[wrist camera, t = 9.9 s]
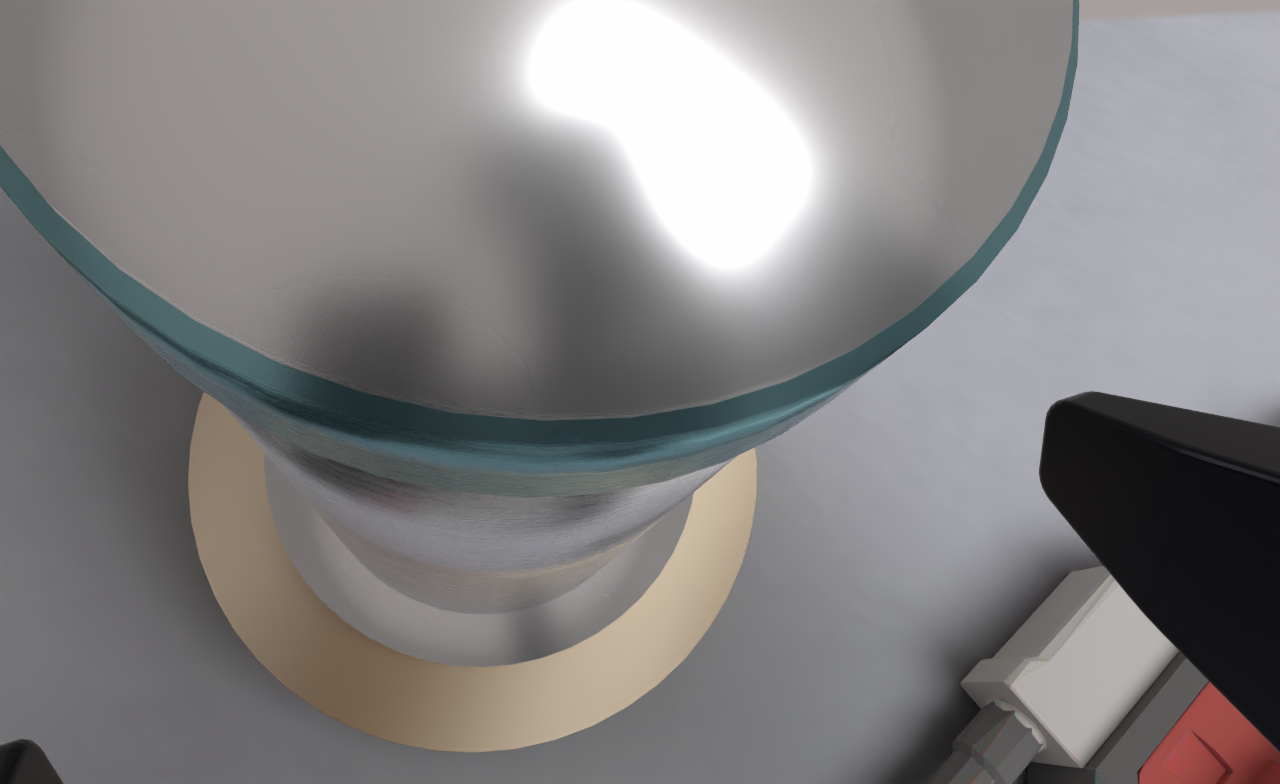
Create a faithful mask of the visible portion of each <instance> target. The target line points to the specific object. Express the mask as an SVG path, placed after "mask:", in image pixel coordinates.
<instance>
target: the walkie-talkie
mask: <svg viewBox="0 0 1280 784" xmlns="http://www.w3.org/2000/svg"><path fill="white" fill-rule="evenodd" d="M961 686H962V688H963V689H964V690H965V691H966V692H967V693H968V694H969V696H970V697H971V698H972V699H973V700H974V701H975V703H976V704H977V705H978V706H979V707H980V708H981V710H980V711H979V713H978V714H977V715H976V716H975V717H974V718H973V719H972V721H971V722H970V723H969V724H968V725H967V726H966V727H965V728H964V730H963V731H962V732H961V733H960V734H959V735H958V736H957V737H956V739H955V740H954V741H953V742H952V748H953V753H952V754H951V755H950V757H949V758H948V759H947V760H946V761H945V762H944V763H943V765H942V766H941V767H940V768H939V769H938V770H937V771H936V772H935V774H934V775H933V776H932V777H931V778H930V779H929V780H928V782H927V783H926V784H1013V782H1014V781H1015V780H1016V779H1017V778H1018V776H1019V775H1020V774H1021V773H1022V772H1023V770H1024V769H1025V768H1026V767H1027V766H1028V772H1027V784H1280V753H1279V752H1278V751H1277V750H1276V749H1275V748H1274V747H1273V746H1272V745H1271V743H1270V742H1269V741H1268V740H1267V739H1266V738H1265V737H1264V736H1263V735H1262V734H1261V733H1260V732H1259V731H1258V730H1257V729H1256V728H1255V727H1254V726H1253V725H1252V724H1251V723H1250V722H1249V721H1248V720H1247V719H1246V718H1245V717H1244V716H1243V715H1242V714H1241V713H1240V712H1239V711H1238V710H1237V709H1236V708H1235V707H1234V706H1233V705H1232V704H1231V703H1230V702H1229V701H1228V700H1227V699H1226V698H1225V697H1224V696H1223V695H1222V694H1221V693H1220V692H1219V691H1218V690H1217V689H1216V688H1215V687H1214V686H1213V685H1212V684H1211V683H1210V682H1209V681H1208V680H1207V679H1206V678H1205V677H1204V676H1203V675H1202V674H1201V673H1200V671H1199V670H1198V669H1197V668H1196V667H1195V666H1194V665H1193V664H1192V663H1191V662H1190V661H1189V660H1188V659H1187V658H1186V657H1185V656H1184V655H1183V654H1182V653H1181V652H1180V651H1179V650H1178V649H1177V648H1176V647H1175V646H1174V645H1173V644H1172V643H1171V642H1170V641H1169V640H1168V639H1167V638H1166V637H1165V636H1164V635H1163V634H1162V633H1161V632H1160V631H1159V630H1158V629H1157V628H1156V627H1155V625H1154V624H1153V623H1152V622H1151V621H1150V620H1149V619H1148V618H1147V617H1146V616H1145V615H1144V614H1143V612H1142V611H1141V610H1140V609H1139V608H1138V607H1137V605H1136V604H1135V603H1134V602H1133V601H1132V600H1131V598H1130V597H1129V596H1128V595H1127V594H1126V592H1125V591H1124V590H1123V589H1122V588H1121V586H1120V585H1119V584H1118V583H1117V581H1116V580H1115V579H1114V578H1113V577H1112V575H1111V574H1110V573H1109V572H1108V570H1107V569H1106V568H1105V567H1104V566H1099V567H1094V568H1088V569H1083V570H1078V571H1073V572H1070V573H1069V574H1068V576H1067V577H1066V578H1065V579H1064V580H1063V581H1062V582H1061V583H1060V584H1059V585H1058V587H1057V588H1056V589H1055V590H1054V591H1053V592H1052V593H1051V594H1050V595H1049V596H1048V598H1047V599H1046V600H1045V601H1044V602H1043V603H1042V604H1041V605H1040V606H1039V607H1038V608H1037V610H1036V611H1035V612H1034V613H1033V614H1032V615H1031V616H1030V617H1029V618H1028V619H1027V621H1026V622H1025V623H1024V624H1023V625H1022V626H1021V627H1020V628H1019V629H1018V630H1017V632H1016V633H1015V634H1014V635H1013V636H1012V637H1011V638H1010V639H1009V640H1008V641H1007V642H1006V644H1005V645H1004V646H1003V647H1002V648H1001V649H1000V650H999V651H998V652H997V653H996V655H995V656H994V657H993V658H991V659H984V660H980V662H979V663H978V664H977V665H976V666H975V667H974V668H973V669H972V670H971V671H970V673H969V674H968V675H967V676H966V677H965V678H964V679H963V680H962V681H961Z"/></svg>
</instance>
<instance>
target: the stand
mask: <svg viewBox="0 0 1280 784" xmlns="http://www.w3.org/2000/svg"><path fill="white" fill-rule="evenodd" d="M264 456H265V453H264V451H263V450H262V449H261V448H260V447H259V446H258V444H257V443H256V442H255V441H254V440H253V439H252V438H251V436H250V435H249V434H248V433H247V432H246V431H245V429H244V428H243V427H242V426H241V425H240V424H239V423H238V421H237V420H236V419H235V418H234V417H233V416H232V414H231V413H230V412H229V411H228V410H227V409H226V408H225V406H224V405H223V404H221V403H220V402H218V401H217V400H216V399H214V398H213V397H211V396H210V395H208V394H207V393H205V392H204V393H203V395H202V398H201V401H200V404H199V407H198V410H197V415H196V420H195V425H194V429H193V434H192V439H191V444H190V458H189V474H188V490H189V502H190V514H191V523H192V527H193V532H194V536H195V540H196V545H197V549H198V553H199V558H200V561H201V563H202V566H203V568H204V571H205V573H206V576H207V579H208V581H209V584H210V586H211V589H212V591H213V594H214V596H215V598H216V599H217V601H218V603H219V605H220V606H221V608H222V610H223V612H224V613H225V615H226V617H227V619H228V620H229V622H230V624H231V626H232V627H233V629H234V630H235V632H236V633H237V634H238V636H239V637H240V638H241V639H242V641H243V642H244V643H245V644H246V646H247V647H248V648H249V650H250V651H251V652H252V653H253V655H254V656H255V657H256V658H257V660H258V661H259V662H260V663H261V664H262V665H263V666H264V667H265V668H267V669H268V670H269V671H270V672H271V673H272V674H273V675H274V676H275V677H276V678H277V679H278V680H279V681H280V682H281V683H282V684H283V685H285V686H286V687H287V688H288V689H289V690H291V691H292V692H293V693H295V694H296V695H298V696H299V697H301V698H302V699H303V700H305V701H306V702H308V703H309V704H311V705H312V706H313V707H315V708H316V709H318V710H319V711H321V712H322V713H324V714H326V715H328V716H330V717H332V718H334V719H336V720H338V721H340V722H342V723H344V724H346V725H348V726H350V727H352V728H354V729H356V730H358V731H361V732H364V733H367V734H370V735H373V736H376V737H379V738H382V739H385V740H388V741H391V742H394V743H398V744H403V745H409V746H414V747H419V748H425V749H430V750H435V751H455V752H487V751H498V750H509V749H518V748H522V747H527V746H531V745H535V744H540V743H544V742H548V741H553V740H556V739H559V738H562V737H564V736H567V735H570V734H572V733H575V732H578V731H580V730H583V729H585V728H588V727H591V726H593V725H595V724H597V723H599V722H601V721H602V720H604V719H606V718H608V717H610V716H612V715H613V714H615V713H617V712H619V711H621V710H623V709H624V708H626V707H628V706H629V705H631V704H632V703H633V702H635V701H636V700H637V699H639V698H640V697H642V696H643V695H644V694H646V693H647V692H648V691H650V690H651V689H652V688H654V687H655V686H657V685H658V684H659V683H660V682H661V681H662V680H663V679H664V678H665V677H666V676H667V675H668V674H669V673H670V672H672V671H673V670H674V669H675V668H676V667H677V666H678V665H679V664H680V663H681V662H682V661H683V660H684V659H685V658H686V657H687V656H688V654H689V653H690V652H691V651H692V649H693V648H694V647H695V646H696V644H697V643H698V642H699V641H700V639H701V638H702V637H703V635H704V634H705V633H706V632H707V630H708V629H709V628H710V626H711V624H712V623H713V621H714V619H715V618H716V616H717V614H718V613H719V611H720V609H721V608H722V606H723V604H724V603H725V601H726V599H727V597H728V595H729V593H730V591H731V588H732V586H733V584H734V581H735V579H736V577H737V574H738V572H739V570H740V567H741V565H742V562H743V558H744V555H745V551H746V548H747V544H748V541H749V537H750V534H751V529H752V522H753V516H754V509H755V502H756V485H757V459H756V450H755V448H753V449H750V450H748V451H746V452H744V453H742V454H740V455H738V456H737V457H736V458H735V459H733V460H732V461H731V462H730V463H729V464H727V465H726V466H725V467H724V468H723V469H721V470H720V471H719V472H718V473H716V474H715V475H714V476H713V477H712V478H710V479H709V480H708V481H707V482H706V483H704V484H703V485H702V486H701V487H700V488H698V489H697V490H696V491H695V492H694V494H693V500H692V505H691V508H690V511H689V515H688V518H687V521H686V525H685V528H684V530H683V532H682V535H681V537H680V539H679V541H678V543H677V546H676V548H675V550H674V552H673V554H672V556H671V557H670V559H669V560H668V562H667V564H666V565H665V567H664V568H663V570H662V572H661V573H660V575H659V576H658V578H657V579H656V580H655V581H654V583H653V584H652V585H651V586H650V587H649V589H648V590H647V591H646V592H645V593H644V595H643V596H642V597H641V598H640V599H639V600H638V601H637V602H636V603H635V604H634V605H633V606H632V607H630V608H629V609H628V610H627V611H626V612H625V613H624V614H623V615H622V616H621V617H620V618H618V619H617V620H615V621H614V622H613V623H611V624H610V625H608V626H607V627H606V628H604V629H603V630H601V631H600V632H598V633H597V634H595V635H594V636H592V637H590V638H588V639H586V640H584V641H582V642H580V643H578V644H576V645H574V646H573V647H571V648H568V649H565V650H563V651H560V652H557V653H554V654H552V655H549V656H546V657H543V658H540V659H537V660H532V661H528V662H523V663H519V664H514V665H509V666H497V667H485V668H477V667H457V666H449V665H444V664H439V663H433V662H428V661H424V660H421V659H418V658H415V657H412V656H409V655H406V654H403V653H400V652H397V651H395V650H393V649H391V648H389V647H387V646H385V645H383V644H381V643H379V642H377V641H375V640H373V639H371V638H369V637H367V636H366V635H364V634H363V633H361V632H360V631H358V630H357V629H355V628H354V627H352V626H351V625H350V624H348V623H347V622H345V621H344V620H342V619H341V618H340V617H339V616H338V615H337V614H336V613H335V612H334V611H332V610H331V609H330V608H329V607H328V606H327V605H326V604H325V603H324V602H323V601H321V600H320V598H319V597H318V596H317V595H316V594H315V592H314V591H313V590H312V589H311V588H310V586H309V585H308V584H307V583H306V581H305V580H304V579H303V578H302V577H301V575H300V573H299V572H298V570H297V568H296V567H295V565H294V563H293V562H292V560H291V558H290V557H289V555H288V553H287V552H286V550H285V547H284V545H283V543H282V540H281V538H280V536H279V533H278V531H277V529H276V526H275V523H274V520H273V516H272V512H271V508H270V504H269V501H268V497H267V488H266V480H265V471H264Z"/></svg>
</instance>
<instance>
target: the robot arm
mask: <svg viewBox="0 0 1280 784" xmlns="http://www.w3.org/2000/svg"><path fill="white" fill-rule="evenodd" d="M1039 476H1040V482H1041V485H1042V488H1043V490H1044V492H1045V494H1046V495H1047V497H1048V498H1049V499H1050V501H1051V502H1052V503H1053V504H1054V506H1055V507H1056V508H1057V509H1058V510H1059V512H1060V513H1061V514H1062V515H1063V517H1064V518H1065V519H1066V520H1067V522H1068V523H1069V524H1070V525H1071V526H1072V528H1073V529H1074V530H1075V531H1076V533H1077V534H1078V535H1079V536H1080V537H1081V539H1082V540H1083V541H1084V542H1085V544H1086V545H1087V546H1088V547H1089V548H1090V550H1091V551H1092V552H1093V553H1094V555H1095V556H1096V557H1097V558H1098V559H1099V561H1100V562H1101V563H1102V564H1103V566H1104V567H1105V568H1106V569H1107V570H1108V572H1109V573H1110V574H1111V575H1112V577H1113V578H1114V579H1115V580H1116V581H1117V583H1118V584H1119V585H1120V586H1121V588H1122V589H1123V590H1124V591H1125V592H1126V594H1127V595H1128V596H1129V597H1130V598H1131V600H1132V601H1133V602H1134V603H1135V604H1136V605H1137V607H1138V608H1139V609H1140V610H1141V611H1142V612H1143V614H1144V615H1145V616H1146V617H1147V618H1148V619H1149V620H1150V621H1151V622H1152V623H1153V624H1154V625H1155V627H1156V628H1157V629H1158V630H1159V631H1160V632H1161V633H1162V634H1163V635H1164V636H1165V637H1166V638H1167V639H1168V640H1169V641H1170V642H1171V643H1172V644H1173V645H1174V646H1175V647H1176V648H1177V649H1178V650H1179V651H1180V652H1181V653H1182V654H1183V655H1184V656H1185V657H1186V658H1187V659H1188V660H1189V661H1190V662H1191V663H1192V664H1193V665H1194V666H1195V667H1196V668H1197V669H1198V670H1199V671H1200V673H1201V674H1202V675H1203V676H1204V677H1205V678H1206V679H1207V680H1208V681H1209V682H1210V683H1211V684H1212V685H1213V686H1214V687H1215V688H1216V689H1217V690H1218V691H1219V692H1220V693H1221V694H1222V695H1223V696H1224V697H1225V698H1226V699H1227V700H1228V701H1229V702H1230V703H1231V704H1232V705H1233V706H1234V707H1235V708H1236V709H1237V710H1238V711H1239V712H1240V713H1241V714H1242V715H1243V716H1244V717H1245V718H1246V719H1247V720H1248V721H1249V722H1250V723H1251V724H1252V725H1253V726H1254V727H1255V728H1256V729H1257V730H1258V731H1259V732H1260V733H1261V734H1262V735H1263V736H1264V737H1265V738H1266V739H1267V740H1268V741H1269V742H1270V743H1271V745H1272V746H1273V747H1274V748H1275V749H1276V750H1277V751H1278V752H1279V753H1280V427H1275V426H1270V425H1265V424H1260V423H1255V422H1250V421H1244V420H1239V419H1234V418H1229V417H1224V416H1219V415H1214V414H1209V413H1203V412H1198V411H1193V410H1188V409H1183V408H1178V407H1173V406H1167V405H1162V404H1157V403H1152V402H1147V401H1142V400H1137V399H1132V398H1126V397H1121V396H1116V395H1111V394H1106V393H1101V392H1094V391H1091V392H1084V393H1080V394H1077V395H1074V396H1071V397H1068V398H1065V399H1062V400H1059V401H1057V402H1055V403H1054V404H1053V405H1051V407H1050V409H1049V410H1048V412H1047V415H1046V419H1045V427H1044V435H1043V443H1042V451H1041V459H1040V467H1039ZM0 784H63V782H62V781H61V779H60V777H59V776H58V774H57V773H56V771H55V769H54V768H53V766H52V765H51V763H50V762H49V760H48V758H47V757H46V755H45V754H44V752H43V751H42V749H41V748H40V747H39V746H38V745H37V744H36V743H34V742H33V741H31V740H25V739H20V740H16V741H13V742H10V743H6V744H3V745H0Z"/></svg>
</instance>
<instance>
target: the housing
mask: <svg viewBox="0 0 1280 784" xmlns="http://www.w3.org/2000/svg"><path fill="white" fill-rule="evenodd" d="M1078 26H1079V0H0V186H1V187H2V189H3V190H4V191H5V192H6V193H7V195H8V196H9V197H10V198H11V200H12V201H13V202H14V203H15V204H16V206H17V207H18V208H19V209H20V210H21V212H22V213H23V214H24V215H25V217H26V218H27V219H28V220H29V221H30V223H31V224H32V225H33V226H34V227H35V228H36V229H37V230H38V232H39V233H40V234H41V235H42V236H43V237H44V238H45V239H46V240H47V241H48V242H49V243H50V244H51V245H52V246H53V247H54V248H55V250H56V251H57V252H58V253H59V254H60V255H61V256H62V257H63V258H64V259H65V260H66V261H67V262H68V263H69V264H70V265H71V266H72V268H73V269H74V270H75V271H76V272H77V273H78V274H79V275H80V276H81V277H82V278H83V279H84V280H85V281H86V282H87V283H88V285H89V286H90V287H91V288H92V289H93V290H94V291H95V292H96V293H97V294H98V295H99V296H100V297H101V298H102V299H103V300H104V301H105V303H106V304H107V305H108V306H109V307H110V308H111V309H112V310H113V311H114V312H115V313H116V314H117V315H118V316H119V317H120V318H121V320H122V321H123V322H124V323H125V324H126V325H127V326H128V327H129V328H130V329H131V330H132V331H133V332H134V333H135V334H136V335H137V336H138V337H140V338H141V339H142V340H143V341H144V342H145V343H146V344H147V345H148V346H149V347H151V348H152V349H153V350H154V351H155V352H156V353H157V354H158V355H159V356H160V357H162V358H163V359H164V360H165V361H166V362H167V363H168V364H169V365H170V366H172V367H173V368H174V369H175V370H176V371H177V372H178V373H179V374H180V375H181V376H183V377H184V378H185V379H186V380H188V381H189V382H191V383H192V384H193V385H195V386H196V387H198V388H199V389H201V390H202V391H204V392H205V393H207V394H208V395H210V396H211V397H213V398H214V399H216V400H217V401H218V402H220V403H221V404H223V405H224V406H225V408H226V409H227V410H228V411H229V412H230V413H231V414H232V416H233V417H234V418H235V419H236V420H237V421H238V423H239V424H240V425H241V426H242V427H243V428H244V429H245V431H246V432H247V433H248V434H249V435H250V436H251V438H252V439H253V440H254V441H255V442H256V443H257V444H258V446H259V447H260V448H261V449H262V450H263V451H264V453H265V456H264V471H265V480H266V488H267V497H268V501H269V504H270V508H271V512H272V516H273V520H274V523H275V526H276V529H277V531H278V533H279V536H280V538H281V540H282V543H283V545H284V547H285V550H286V552H287V553H288V555H289V557H290V558H291V560H292V562H293V563H294V565H295V567H296V568H297V570H298V572H299V573H300V575H301V577H302V578H303V579H304V580H305V581H306V583H307V584H308V585H309V586H310V588H311V589H312V590H313V591H314V592H315V594H316V595H317V596H318V597H319V598H320V600H321V601H323V602H324V603H325V604H326V605H327V606H328V607H329V608H330V609H331V610H332V611H334V612H335V613H336V614H337V615H338V616H339V617H340V618H341V619H342V620H344V621H345V622H347V623H348V624H350V625H351V626H352V627H354V628H355V629H357V630H358V631H360V632H361V633H363V634H364V635H366V636H367V637H369V638H371V639H373V640H375V641H377V642H379V643H381V644H383V645H385V646H387V647H389V648H391V649H393V650H395V651H397V652H400V653H403V654H406V655H409V656H412V657H415V658H418V659H421V660H424V661H428V662H433V663H439V664H444V665H449V666H457V667H477V668H485V667H497V666H509V665H514V664H519V663H523V662H528V661H532V660H537V659H540V658H543V657H546V656H549V655H552V654H554V653H557V652H560V651H563V650H565V649H568V648H571V647H573V646H574V645H576V644H578V643H580V642H582V641H584V640H586V639H588V638H590V637H592V636H594V635H595V634H597V633H598V632H600V631H601V630H603V629H604V628H606V627H607V626H608V625H610V624H611V623H613V622H614V621H615V620H617V619H618V618H620V617H621V616H622V615H623V614H624V613H625V612H626V611H627V610H628V609H629V608H630V607H632V606H633V605H634V604H635V603H636V602H637V601H638V600H639V599H640V598H641V597H642V596H643V595H644V593H645V592H646V591H647V590H648V589H649V587H650V586H651V585H652V584H653V583H654V581H655V580H656V579H657V578H658V576H659V575H660V573H661V572H662V570H663V568H664V567H665V565H666V564H667V562H668V560H669V559H670V557H671V556H672V554H673V552H674V550H675V548H676V546H677V543H678V541H679V539H680V537H681V535H682V532H683V530H684V528H685V525H686V521H687V518H688V515H689V511H690V508H691V505H692V500H693V494H694V492H695V491H696V490H697V489H698V488H700V487H701V486H702V485H703V484H704V483H706V482H707V481H708V480H709V479H710V478H712V477H713V476H714V475H715V474H716V473H718V472H719V471H720V470H721V469H723V468H724V467H725V466H726V465H727V464H729V463H730V462H731V461H732V460H733V459H735V458H736V457H737V456H738V455H740V454H742V453H744V452H746V451H748V450H750V449H753V448H755V447H757V446H759V445H761V444H763V443H765V442H767V441H769V440H771V439H773V438H775V437H777V436H779V435H781V434H783V433H784V432H786V431H787V430H789V429H790V428H792V427H793V426H795V425H796V424H798V423H799V422H801V421H802V420H804V419H805V418H807V417H808V416H809V415H811V414H812V413H814V412H815V411H817V410H818V409H820V408H821V407H823V406H824V405H826V404H827V403H829V402H830V401H832V400H833V399H834V398H836V397H837V396H838V395H839V394H841V393H842V392H843V391H845V390H846V389H847V388H849V387H850V386H851V385H852V384H854V383H855V382H856V381H858V380H859V379H860V378H862V377H863V376H864V375H865V374H867V373H868V372H869V371H871V370H872V369H873V368H875V367H876V366H877V365H878V364H880V363H881V362H882V361H884V360H885V359H886V358H888V357H889V356H890V355H891V354H893V353H894V352H895V351H897V350H898V349H899V348H901V347H902V346H903V345H905V344H906V343H907V342H908V341H910V340H911V339H912V338H914V337H915V336H916V335H918V334H919V333H920V332H921V331H923V330H924V329H925V328H927V327H928V326H929V325H930V324H931V323H932V322H933V321H934V320H935V319H936V318H937V317H939V316H940V315H941V314H942V313H943V312H944V311H945V310H946V309H947V308H948V307H949V306H950V305H951V304H953V303H954V302H955V301H956V300H957V299H958V298H959V297H960V296H961V295H962V294H963V293H964V292H966V291H967V290H968V289H969V288H970V287H971V286H972V285H973V284H974V283H975V282H976V281H977V280H978V279H979V278H980V276H981V275H982V274H983V273H984V271H985V270H986V269H987V267H988V266H989V265H990V264H991V262H992V261H993V260H994V258H995V257H996V256H997V255H998V253H999V252H1000V251H1001V250H1002V248H1003V247H1004V246H1005V244H1006V243H1007V242H1008V241H1009V239H1010V238H1011V237H1012V236H1013V234H1014V233H1015V232H1016V230H1017V229H1018V227H1019V225H1020V223H1021V222H1022V220H1023V218H1024V216H1025V214H1026V212H1027V211H1028V209H1029V207H1030V205H1031V203H1032V202H1033V200H1034V198H1035V196H1036V194H1037V193H1038V191H1039V189H1040V187H1041V185H1042V183H1043V182H1044V180H1045V178H1046V176H1047V174H1048V171H1049V168H1050V165H1051V162H1052V160H1053V157H1054V154H1055V151H1056V148H1057V145H1058V143H1059V140H1060V137H1061V134H1062V131H1063V129H1064V126H1065V123H1066V120H1067V115H1068V110H1069V105H1070V99H1071V94H1072V89H1073V83H1074V78H1075V72H1076V67H1077V58H1078Z"/></svg>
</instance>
